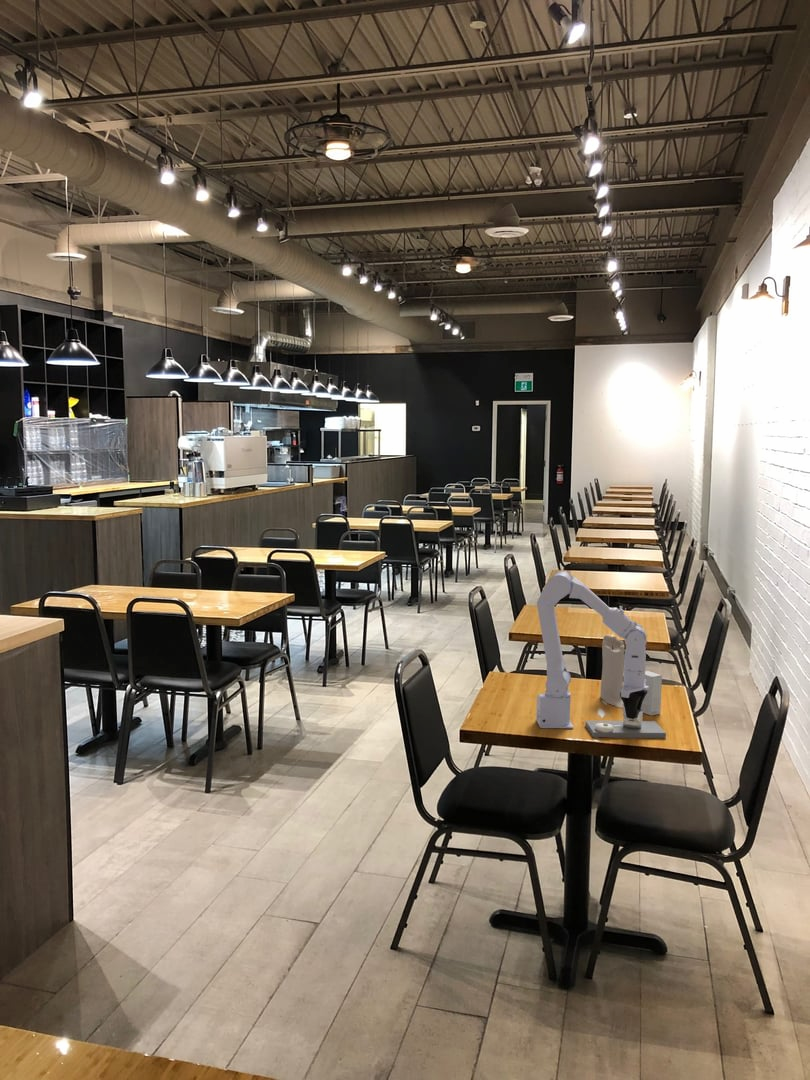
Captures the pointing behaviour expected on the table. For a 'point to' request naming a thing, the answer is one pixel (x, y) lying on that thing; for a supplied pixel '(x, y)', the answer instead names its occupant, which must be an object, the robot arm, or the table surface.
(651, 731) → the base
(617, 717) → the table surface
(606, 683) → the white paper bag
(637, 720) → the knob
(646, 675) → the skincare box
